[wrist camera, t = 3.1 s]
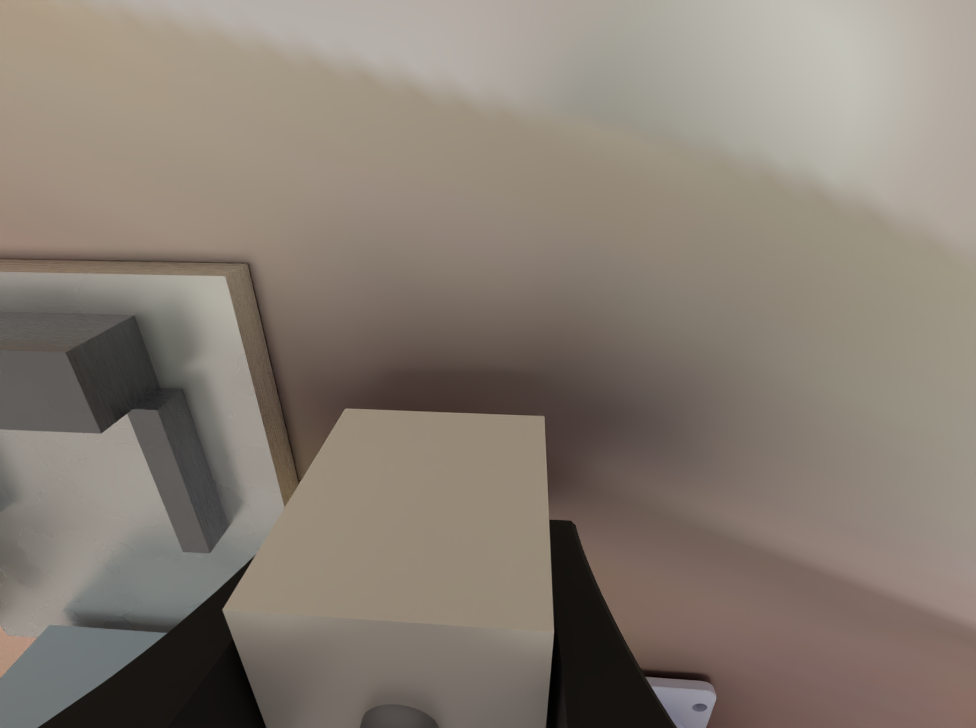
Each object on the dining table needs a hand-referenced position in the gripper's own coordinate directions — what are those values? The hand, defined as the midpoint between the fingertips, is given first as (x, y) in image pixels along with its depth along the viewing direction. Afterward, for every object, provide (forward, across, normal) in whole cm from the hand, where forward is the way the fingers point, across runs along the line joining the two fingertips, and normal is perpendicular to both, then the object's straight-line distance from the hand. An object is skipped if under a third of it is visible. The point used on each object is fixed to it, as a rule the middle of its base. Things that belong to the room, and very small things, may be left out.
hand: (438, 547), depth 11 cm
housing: (+2, 0, 0) cm, 2 cm away
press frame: (+4, +11, +2) cm, 12 cm away
